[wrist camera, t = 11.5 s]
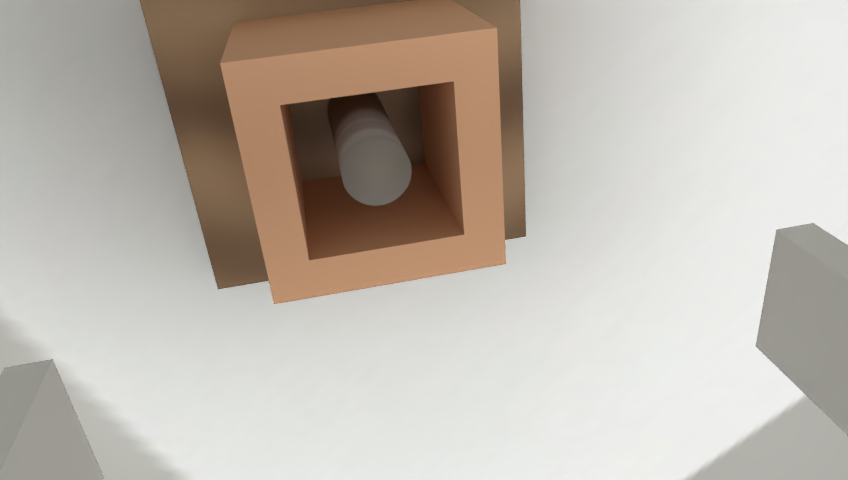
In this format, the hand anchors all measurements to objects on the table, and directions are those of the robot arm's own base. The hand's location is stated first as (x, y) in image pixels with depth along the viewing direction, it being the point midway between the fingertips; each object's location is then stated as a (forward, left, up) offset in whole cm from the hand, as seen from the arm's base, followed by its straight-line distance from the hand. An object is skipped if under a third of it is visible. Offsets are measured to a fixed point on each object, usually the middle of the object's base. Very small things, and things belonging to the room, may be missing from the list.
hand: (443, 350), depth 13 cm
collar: (0, 0, -17) cm, 17 cm away
